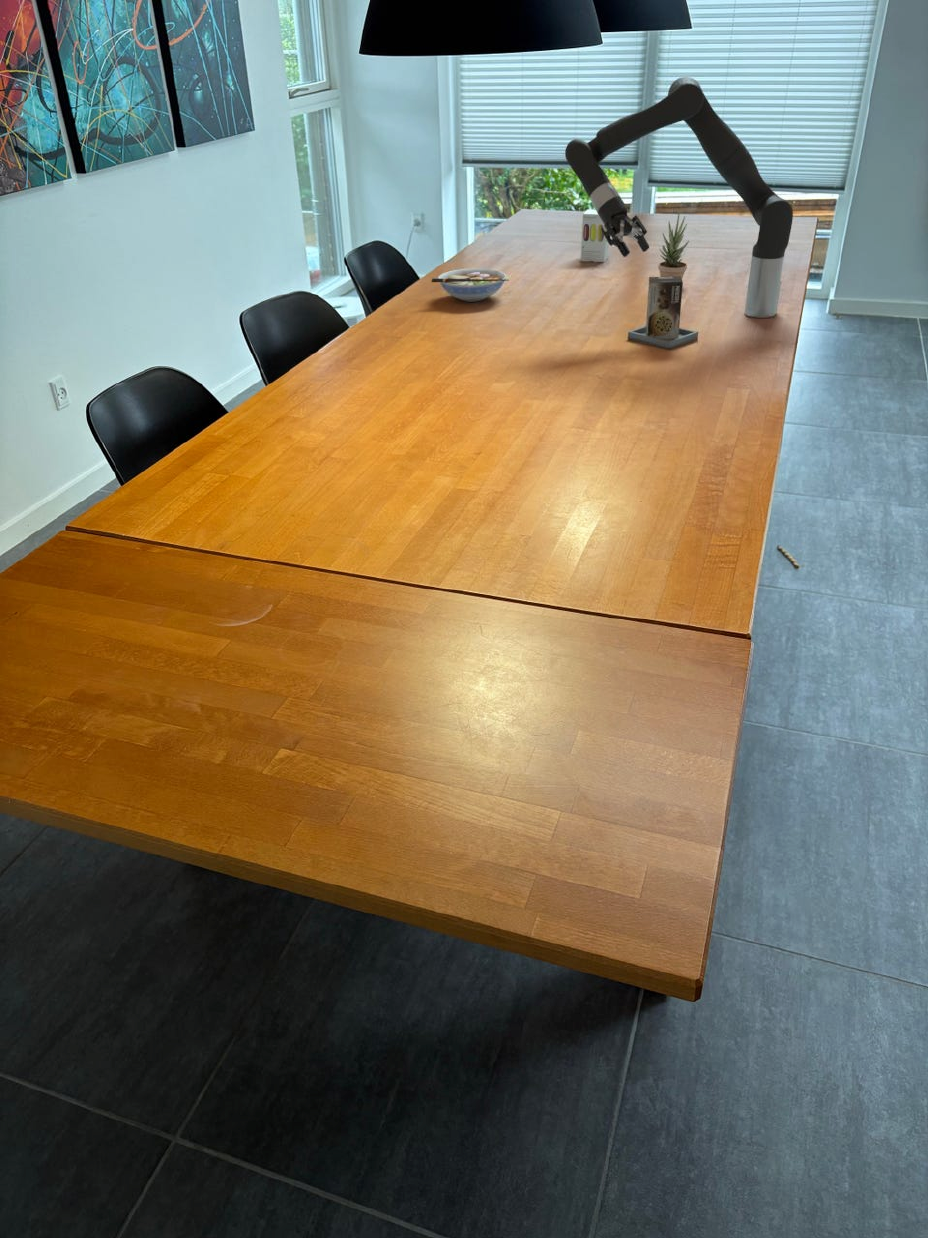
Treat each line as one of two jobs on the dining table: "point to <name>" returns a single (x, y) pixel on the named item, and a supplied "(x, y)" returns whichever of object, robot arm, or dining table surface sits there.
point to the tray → (668, 344)
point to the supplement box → (593, 238)
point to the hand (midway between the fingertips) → (637, 252)
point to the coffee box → (664, 307)
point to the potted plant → (673, 253)
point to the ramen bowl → (471, 283)
